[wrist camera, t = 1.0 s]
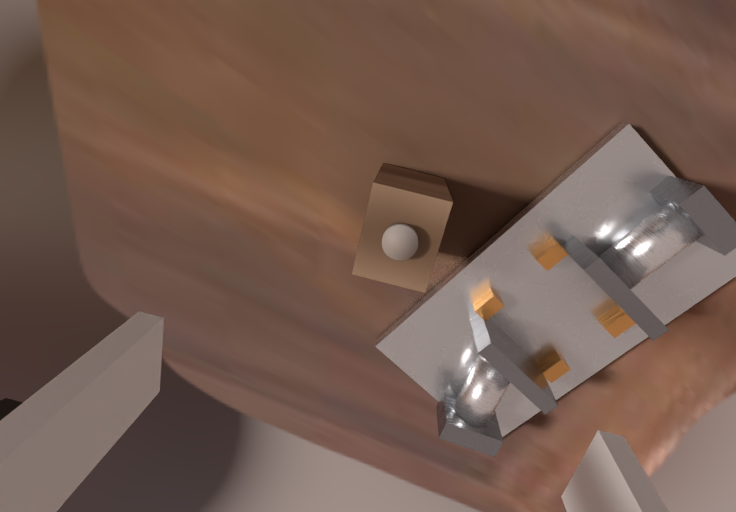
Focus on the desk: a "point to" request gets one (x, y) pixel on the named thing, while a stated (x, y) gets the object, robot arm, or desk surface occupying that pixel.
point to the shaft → (474, 410)
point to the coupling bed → (571, 281)
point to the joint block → (403, 227)
